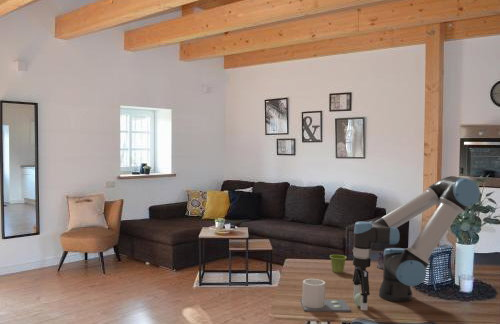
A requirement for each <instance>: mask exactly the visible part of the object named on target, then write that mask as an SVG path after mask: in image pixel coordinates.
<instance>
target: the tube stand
mask: <svg viewBox="0 0 500 324" xmlns="http://www.w3.org/2000/svg"><path fill="white" fill-rule="evenodd" d="M300 303H301V306H302V310H303V311H304V312H334V313H335V312H336V313H337V312H338V313H339V312H345V313H348V312H349V313H350V312H351V307H349V305H348V304H347V301H346V300H345V299H326V281H324V280H323V279H317V278H307V279H304V280H302V298H300Z"/></svg>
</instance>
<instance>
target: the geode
mask: <svg viewBox="0 0 500 324" xmlns="http://www.w3.org/2000/svg"><path fill="white" fill-rule="evenodd" d="M383 255H384V253H381V252H379V253H378V258H377V265H376V268H377V269H379V270H383V268H384V256H383Z"/></svg>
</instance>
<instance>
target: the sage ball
mask: <svg viewBox="0 0 500 324" xmlns="http://www.w3.org/2000/svg"><path fill="white" fill-rule="evenodd" d="M361 293H362V292H360V293H358V294H356V295H355V297H354V299H353V301H354V304H355V305H356V306H357V307H358V308H361V295H360V294H361Z"/></svg>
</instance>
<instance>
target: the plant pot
mask: <svg viewBox="0 0 500 324" xmlns="http://www.w3.org/2000/svg"><path fill="white" fill-rule="evenodd" d="M329 258H330V262H331V271H332V272H333V273H335V274H343V273H344V270H345V264H346V260H347V258H348V257H347V255H343V254H330V255H329Z"/></svg>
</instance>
